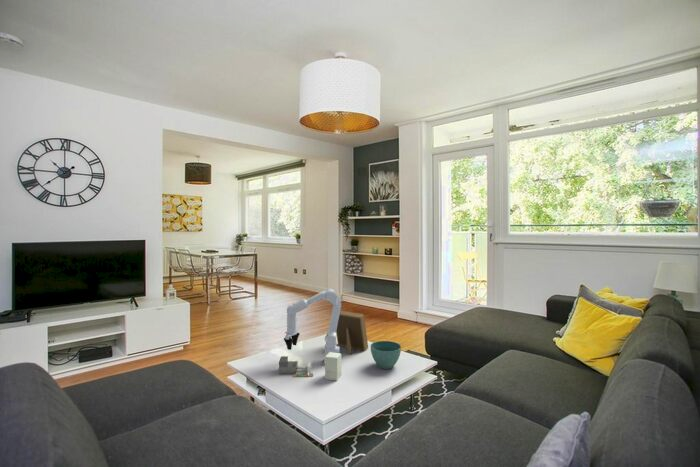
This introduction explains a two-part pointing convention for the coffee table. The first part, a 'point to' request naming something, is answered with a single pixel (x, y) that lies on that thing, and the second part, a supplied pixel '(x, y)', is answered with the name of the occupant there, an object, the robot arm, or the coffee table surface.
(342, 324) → the photo frame
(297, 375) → the gauge scale
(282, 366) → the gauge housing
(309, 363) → the gauge plunger
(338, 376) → the supplement box
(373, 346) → the teal rounded bowl
